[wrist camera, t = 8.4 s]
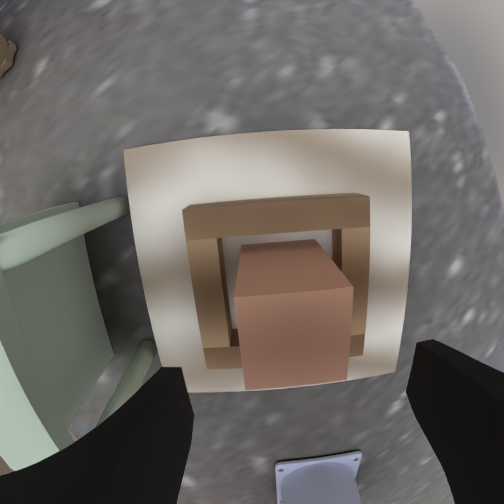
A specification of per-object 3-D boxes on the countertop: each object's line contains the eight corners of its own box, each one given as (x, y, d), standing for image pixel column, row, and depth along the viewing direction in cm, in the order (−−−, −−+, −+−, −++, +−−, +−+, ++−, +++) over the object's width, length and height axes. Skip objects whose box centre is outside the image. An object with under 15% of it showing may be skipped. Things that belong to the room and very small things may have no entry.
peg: (316, 305, 18) (347, 379, 11) (247, 311, 18) (245, 390, 11) (314, 238, 17) (353, 286, 10) (241, 244, 17) (233, 297, 10)
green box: (159, 355, 20) (99, 500, 9) (91, 353, 20) (11, 468, 9) (128, 193, 17) (-27, 243, 6) (55, 206, 17) (-92, 257, 6)
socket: (390, 364, 20) (405, 388, 18) (172, 383, 21) (163, 410, 18) (401, 132, 16) (426, 128, 13) (130, 150, 16) (108, 148, 14)
